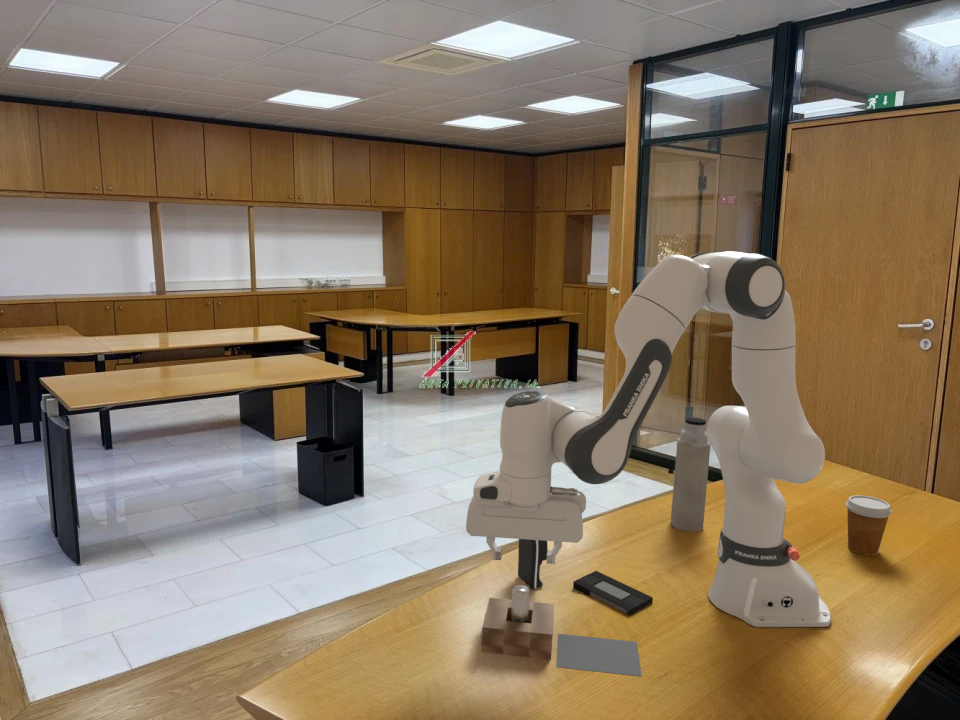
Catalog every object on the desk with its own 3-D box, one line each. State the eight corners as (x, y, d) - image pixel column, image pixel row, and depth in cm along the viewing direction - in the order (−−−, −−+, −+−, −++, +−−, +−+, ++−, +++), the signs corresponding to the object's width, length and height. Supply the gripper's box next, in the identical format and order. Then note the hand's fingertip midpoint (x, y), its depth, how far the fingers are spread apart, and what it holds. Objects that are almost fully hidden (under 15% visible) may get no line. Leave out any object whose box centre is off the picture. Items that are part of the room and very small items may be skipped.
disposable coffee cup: (842, 553, 162) (848, 505, 160) (838, 538, 171) (844, 492, 169) (888, 561, 159) (895, 512, 156) (882, 545, 167) (888, 498, 165)
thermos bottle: (675, 516, 181) (684, 413, 176) (706, 523, 177) (716, 418, 172) (666, 526, 175) (675, 419, 170) (698, 534, 170) (707, 425, 166)
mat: (636, 643, 124) (636, 641, 123) (641, 678, 114) (641, 676, 114) (558, 635, 125) (558, 633, 125) (556, 669, 116) (556, 666, 116)
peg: (527, 637, 125) (529, 586, 123) (526, 646, 122) (528, 594, 120) (511, 635, 125) (513, 584, 123) (509, 645, 122) (511, 592, 120)
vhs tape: (629, 619, 132) (629, 610, 132) (572, 590, 143) (572, 581, 142) (652, 606, 137) (652, 597, 137) (595, 579, 148) (596, 570, 147)
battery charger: (548, 588, 142) (550, 536, 140) (531, 591, 141) (534, 539, 139) (532, 572, 149) (534, 523, 147) (516, 575, 147) (518, 525, 145)
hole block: (553, 629, 127) (554, 604, 127) (550, 661, 118) (552, 634, 117) (488, 622, 129) (489, 597, 128) (481, 653, 119) (482, 627, 118)
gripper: (586, 482, 120) (583, 556, 122) (470, 476, 123) (470, 548, 125) (586, 495, 114) (583, 573, 116) (464, 489, 117) (464, 564, 119)
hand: (523, 560), depth 121 cm, fingers open, 8 cm apart
